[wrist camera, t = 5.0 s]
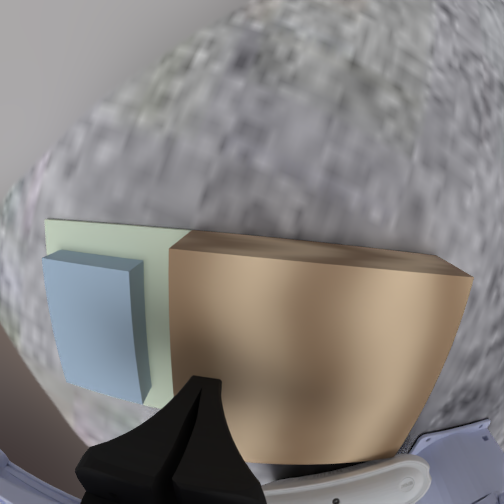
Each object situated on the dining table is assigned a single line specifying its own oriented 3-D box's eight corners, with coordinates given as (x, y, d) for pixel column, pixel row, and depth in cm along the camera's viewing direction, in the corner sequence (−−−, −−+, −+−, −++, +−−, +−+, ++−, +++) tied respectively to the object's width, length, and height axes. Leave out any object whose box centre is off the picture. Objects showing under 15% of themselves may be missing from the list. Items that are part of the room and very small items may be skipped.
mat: (192, 229, 16) (190, 231, 15) (192, 411, 19) (191, 414, 19) (47, 218, 16) (44, 219, 16) (74, 382, 19) (72, 384, 19)
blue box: (41, 258, 14) (60, 249, 16) (66, 381, 16) (79, 366, 18) (128, 271, 14) (143, 260, 16) (142, 404, 16) (151, 386, 18)
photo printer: (254, 543, 11) (450, 495, 10) (246, 487, 14) (440, 440, 13) (277, 517, 19) (409, 486, 18) (272, 478, 22) (402, 448, 21)
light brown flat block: (436, 255, 15) (473, 277, 11) (379, 419, 19) (393, 457, 15) (192, 229, 16) (168, 248, 12) (192, 411, 19) (179, 452, 15)
